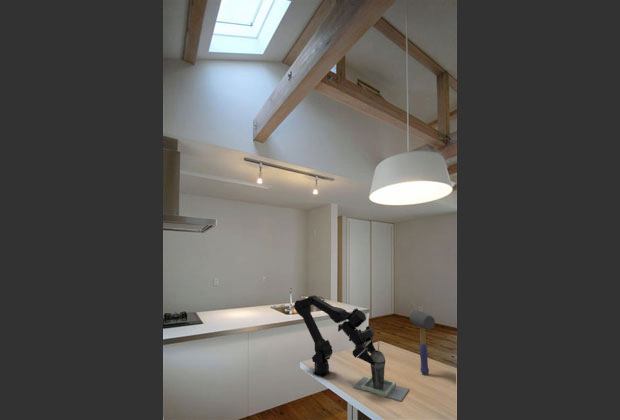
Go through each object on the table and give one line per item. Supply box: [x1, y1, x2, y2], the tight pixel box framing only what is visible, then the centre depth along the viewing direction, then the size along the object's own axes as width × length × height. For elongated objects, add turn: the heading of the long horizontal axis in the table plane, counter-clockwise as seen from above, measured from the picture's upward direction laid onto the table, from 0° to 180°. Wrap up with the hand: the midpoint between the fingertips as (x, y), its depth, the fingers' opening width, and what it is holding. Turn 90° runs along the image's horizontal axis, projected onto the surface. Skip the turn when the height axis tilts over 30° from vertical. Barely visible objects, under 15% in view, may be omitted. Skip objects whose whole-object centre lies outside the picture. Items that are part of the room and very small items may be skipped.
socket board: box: [352, 375, 410, 403], centre depth 130 cm, size 22×12×2 cm, turn 56°
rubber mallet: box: [409, 310, 436, 376], centre depth 147 cm, size 12×8×30 cm, turn 16°
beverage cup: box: [369, 340, 386, 390], centre depth 132 cm, size 7×7×20 cm
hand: (376, 360), depth 132 cm, fingers open, 9 cm apart
